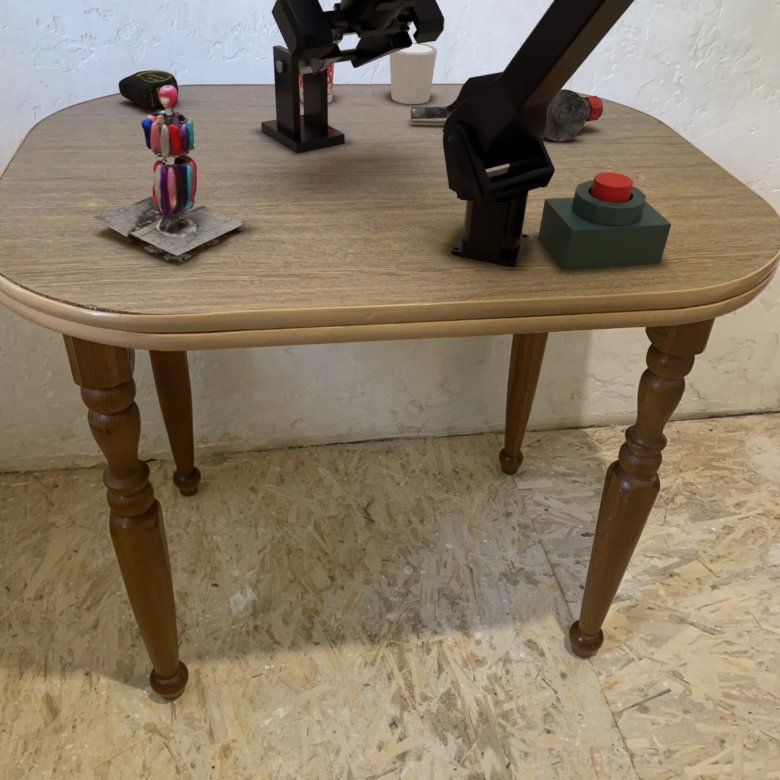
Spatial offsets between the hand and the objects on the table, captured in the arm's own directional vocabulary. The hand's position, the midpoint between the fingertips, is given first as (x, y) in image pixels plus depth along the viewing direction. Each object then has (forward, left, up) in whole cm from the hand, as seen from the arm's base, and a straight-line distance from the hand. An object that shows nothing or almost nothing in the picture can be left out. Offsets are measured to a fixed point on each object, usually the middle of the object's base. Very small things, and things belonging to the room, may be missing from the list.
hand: (333, 67), depth 88 cm
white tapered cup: (+26, -1, -11) cm, 28 cm away
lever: (+2, +3, -1) cm, 3 cm away
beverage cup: (+19, +11, -11) cm, 25 cm away
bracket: (+4, +6, -10) cm, 13 cm away
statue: (-26, +6, -11) cm, 29 cm away
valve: (+22, -16, -11) cm, 29 cm away
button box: (-12, -34, -10) cm, 37 cm away
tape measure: (+6, +30, -11) cm, 33 cm away
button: (-12, -34, -5) cm, 36 cm away
